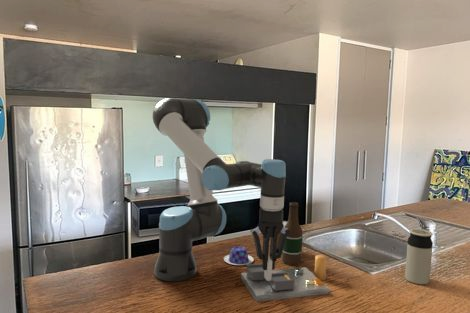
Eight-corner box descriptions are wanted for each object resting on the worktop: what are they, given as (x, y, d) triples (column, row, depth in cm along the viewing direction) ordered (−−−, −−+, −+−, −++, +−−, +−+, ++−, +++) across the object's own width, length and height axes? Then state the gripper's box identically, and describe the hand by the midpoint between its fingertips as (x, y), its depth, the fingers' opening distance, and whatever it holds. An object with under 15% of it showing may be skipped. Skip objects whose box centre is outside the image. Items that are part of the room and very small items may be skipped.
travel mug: (419, 286, 128) (423, 236, 126) (399, 277, 135) (403, 229, 133) (434, 282, 132) (438, 233, 130) (414, 274, 139) (418, 227, 137)
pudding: (230, 268, 140) (230, 255, 139) (219, 257, 151) (219, 244, 150) (258, 264, 144) (259, 251, 144) (246, 253, 155) (246, 241, 155)
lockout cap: (317, 280, 131) (318, 259, 130) (312, 276, 134) (313, 254, 134) (327, 279, 132) (328, 258, 131) (322, 275, 136) (323, 254, 135)
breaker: (252, 280, 124) (252, 272, 124) (246, 272, 130) (246, 264, 130) (270, 278, 126) (270, 270, 126) (263, 271, 132) (264, 263, 132)
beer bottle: (302, 259, 150) (305, 201, 147) (299, 267, 142) (302, 206, 140) (283, 256, 152) (286, 199, 150) (279, 263, 145) (282, 203, 142)
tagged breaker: (275, 290, 117) (275, 281, 117) (268, 281, 124) (268, 273, 123) (293, 288, 119) (294, 280, 119) (285, 280, 125) (286, 271, 125)
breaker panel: (256, 301, 115) (256, 292, 114) (240, 278, 131) (241, 270, 131) (328, 293, 121) (328, 284, 121) (305, 272, 138) (305, 264, 137)
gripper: (255, 212, 112) (252, 285, 115) (295, 210, 116) (290, 282, 119) (248, 205, 119) (245, 275, 122) (285, 204, 123) (281, 272, 126)
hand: (267, 278), depth 120 cm, fingers closed
